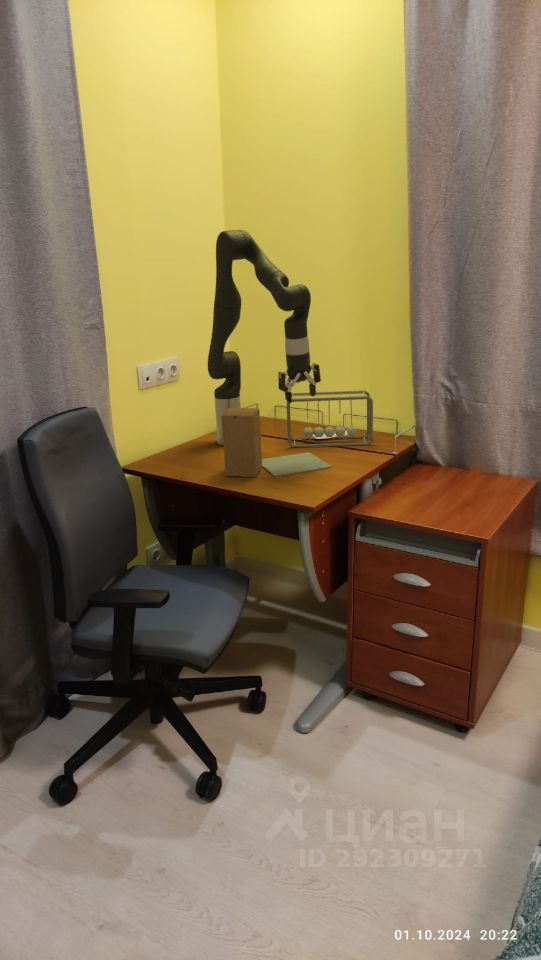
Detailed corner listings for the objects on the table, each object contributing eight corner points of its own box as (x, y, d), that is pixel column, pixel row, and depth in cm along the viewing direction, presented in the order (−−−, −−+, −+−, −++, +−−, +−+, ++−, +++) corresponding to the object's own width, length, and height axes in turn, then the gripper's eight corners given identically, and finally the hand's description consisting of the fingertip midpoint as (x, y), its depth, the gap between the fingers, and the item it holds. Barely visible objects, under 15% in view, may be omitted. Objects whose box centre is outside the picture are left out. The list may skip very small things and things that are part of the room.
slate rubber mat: (255, 461, 238) (255, 460, 238) (309, 453, 244) (309, 452, 244) (274, 476, 222) (274, 475, 222) (331, 467, 228) (331, 466, 228)
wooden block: (256, 477, 222) (252, 415, 215) (225, 476, 224) (221, 415, 217) (262, 467, 231) (259, 407, 225) (232, 467, 233) (229, 407, 227)
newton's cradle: (369, 437, 260) (369, 389, 255) (372, 445, 250) (373, 396, 245) (288, 440, 262) (286, 393, 256) (288, 448, 252) (286, 399, 246)
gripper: (310, 343, 229) (313, 390, 236) (271, 352, 223) (276, 401, 230) (323, 348, 223) (325, 396, 230) (283, 357, 217) (287, 407, 224)
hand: (300, 398), depth 230 cm, fingers open, 8 cm apart
